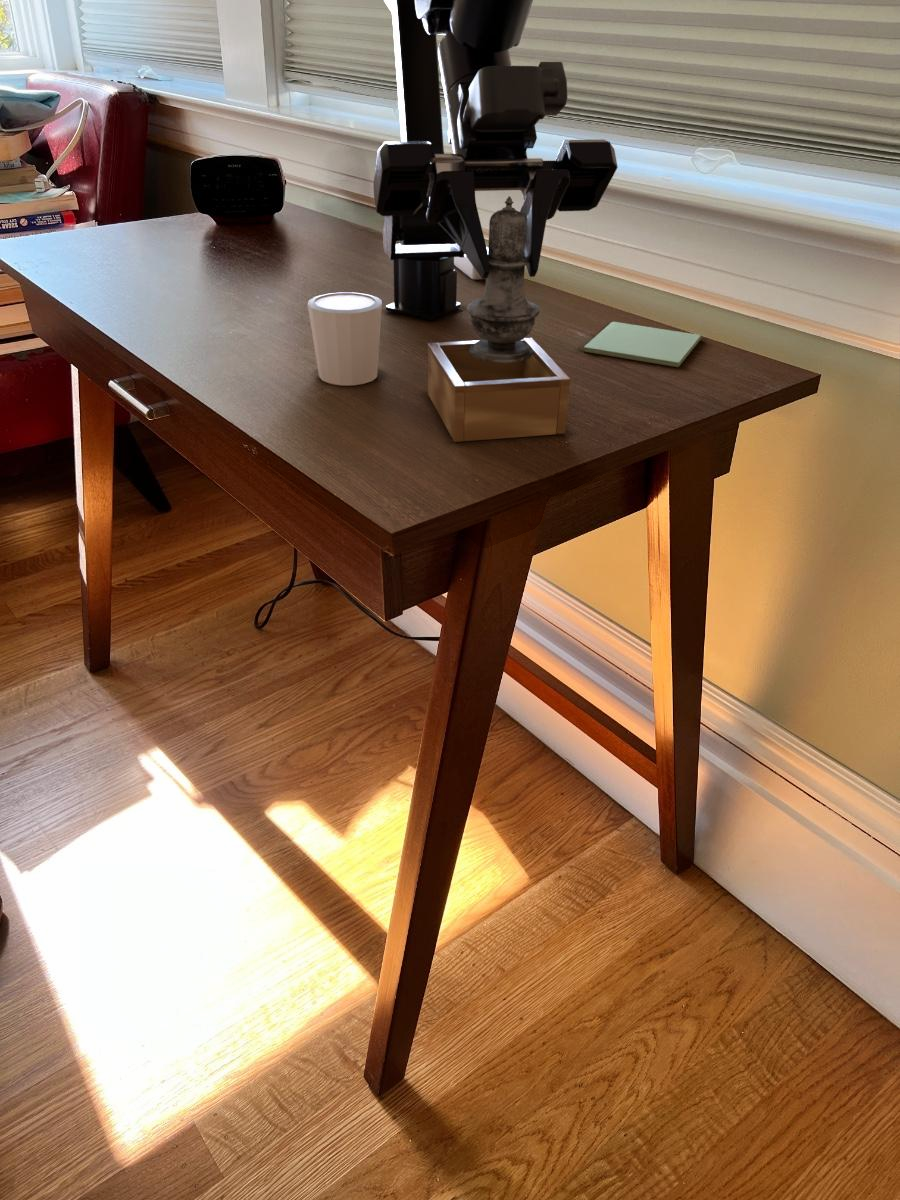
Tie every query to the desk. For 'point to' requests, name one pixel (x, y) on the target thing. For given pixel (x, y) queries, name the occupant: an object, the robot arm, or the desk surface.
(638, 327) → the mat
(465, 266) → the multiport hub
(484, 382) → the open wooden box
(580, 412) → the desk surface
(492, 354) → the salt shaker
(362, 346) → the white tapered cup
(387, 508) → the desk surface
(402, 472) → the desk surface
